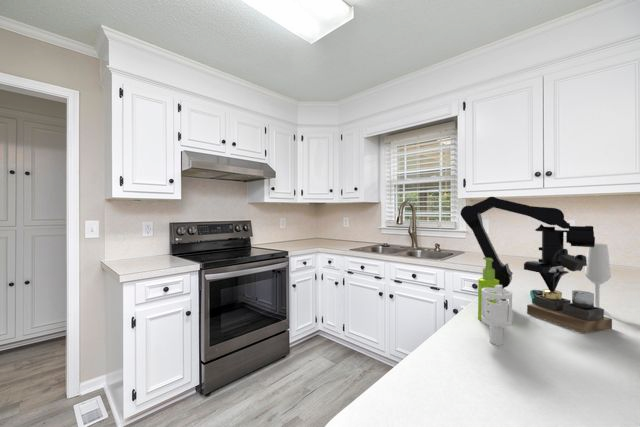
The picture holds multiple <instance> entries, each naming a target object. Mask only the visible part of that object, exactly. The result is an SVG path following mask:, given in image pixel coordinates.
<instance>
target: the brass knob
mask: <svg viewBox="0 0 640 427" xmlns="http://www.w3.org/2000/svg"><path fill="white" fill-rule="evenodd" d="M542 291H543V298H545V299H549V300H552V301H562V298H563V292H562V291H560V290H556V289H555V291H553V292H552V291H550V290H549V289H548V288H545V289H542Z"/></svg>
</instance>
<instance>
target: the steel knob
mask: <svg viewBox="0 0 640 427" xmlns="http://www.w3.org/2000/svg"><path fill="white" fill-rule="evenodd" d="M571 293H572V294H571V296H572V297H571V299H572V300H571V303H572V304H573V305H575V306H578V307H583V308H594V306H595V293H594V292H590V291H585V290H576V289H575V290H571Z"/></svg>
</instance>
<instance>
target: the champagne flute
mask: <svg viewBox="0 0 640 427" xmlns="http://www.w3.org/2000/svg"><path fill="white" fill-rule="evenodd" d="M586 254H587V255H586V260H587V262H586V263H587V266H584V268H585V269H584V276H585V277H586V278H587V279H588V280H589V281H590V282H591V283H593V284H594V307H598V308H602V307H601V306H600V304H601V303H600V296H601V294H600V289H601V287H600V286H601V285H602V284H604V283H606V282H608V281H610V279H611V277H612V274H611V265H610V255H609V248H608V243H600V242H599V243H598V242H595V246H594V247H587V253H586ZM604 316H611V313H610V312H609V311H607V310H605V309H604Z"/></svg>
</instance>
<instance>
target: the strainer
mask: <svg viewBox="0 0 640 427" xmlns="http://www.w3.org/2000/svg"><path fill="white" fill-rule="evenodd" d="M504 289H505V288H503V289H502V285H495V288H482V289H481V294H482V302H481V320H482V321H481V320H480V321H481V322H483V323H484V324H486V325H489V342H490V344H493V345H496V346H502V345H503V344H504V341H503V340H504V336H503V335H504V328H509V327H512V326H513V292H512V291H510V290H507V289H505V290H504ZM489 292H496V293H497V294H494V293H489ZM485 296H487V297H485ZM495 299H497V300H496V304H495V303H491V302H490V300H495ZM500 299H506V301H502V300H500Z"/></svg>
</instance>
